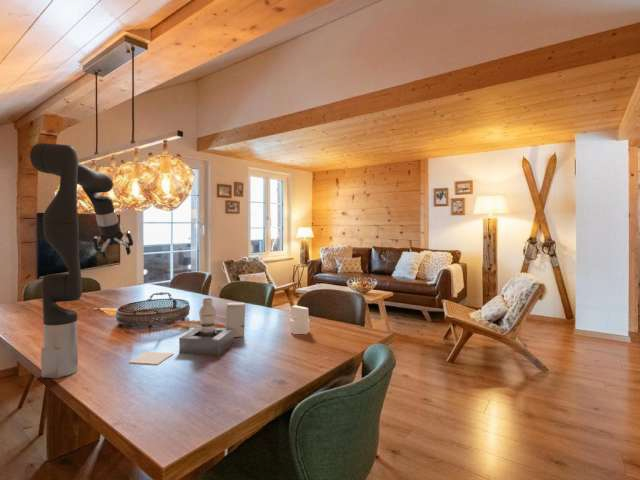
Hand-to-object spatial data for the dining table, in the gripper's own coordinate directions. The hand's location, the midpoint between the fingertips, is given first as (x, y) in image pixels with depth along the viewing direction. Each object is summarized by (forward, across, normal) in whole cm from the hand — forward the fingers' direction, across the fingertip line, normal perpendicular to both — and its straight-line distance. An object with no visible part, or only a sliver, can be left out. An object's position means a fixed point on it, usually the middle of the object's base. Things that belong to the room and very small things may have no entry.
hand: (117, 256), depth 159 cm
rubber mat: (+24, +8, -43) cm, 50 cm away
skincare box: (+36, +41, -28) cm, 62 cm away
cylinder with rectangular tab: (+39, +70, -35) cm, 88 cm away
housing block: (+29, +28, -39) cm, 57 cm away
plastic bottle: (+29, +28, -39) cm, 57 cm away
